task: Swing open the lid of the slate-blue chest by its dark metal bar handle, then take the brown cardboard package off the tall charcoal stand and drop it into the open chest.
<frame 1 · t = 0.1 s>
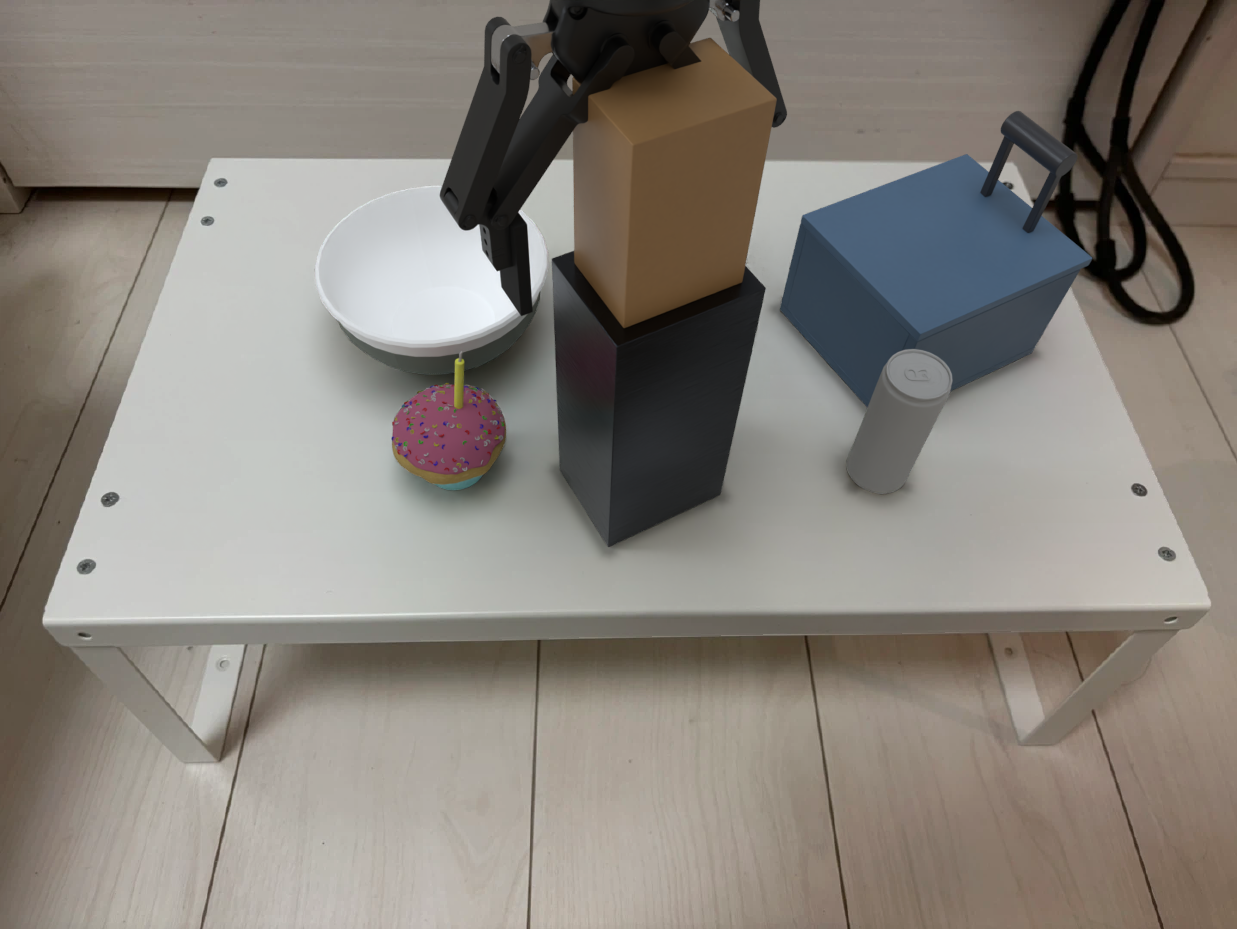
hand: (617, 263, 57), 21 cm above the table, tool pointing down, fingers open, 13 cm apart
lid: (959, 202, 71), point 14 cm above the table, hinge at 0.0°
bowl: (445, 331, 81), on the table
package: (657, 272, 54), point 22 cm above the table, touching stand
cupcake: (456, 468, 73), on the table
chest: (903, 331, 83), on the table
stand: (639, 482, 72), on the table
potato: (630, 289, 85), on the table
beverage can: (874, 473, 74), on the table
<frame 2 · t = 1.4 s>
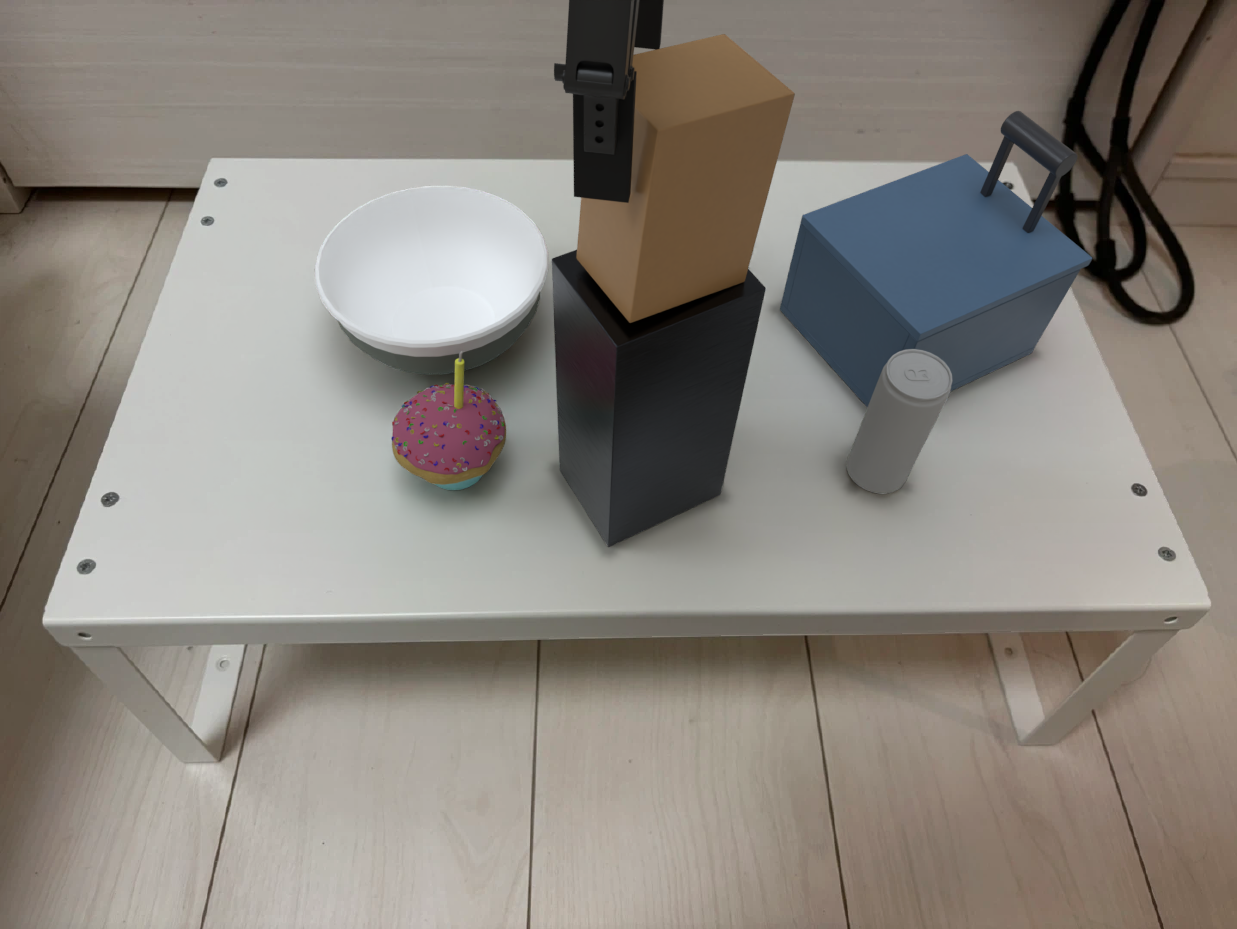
hand: (620, 114, 49), 30 cm above the table, tool pointing down, fingers open, 13 cm apart
package: (660, 270, 54), point 22 cm above the table, touching gripper
everything else where it was.
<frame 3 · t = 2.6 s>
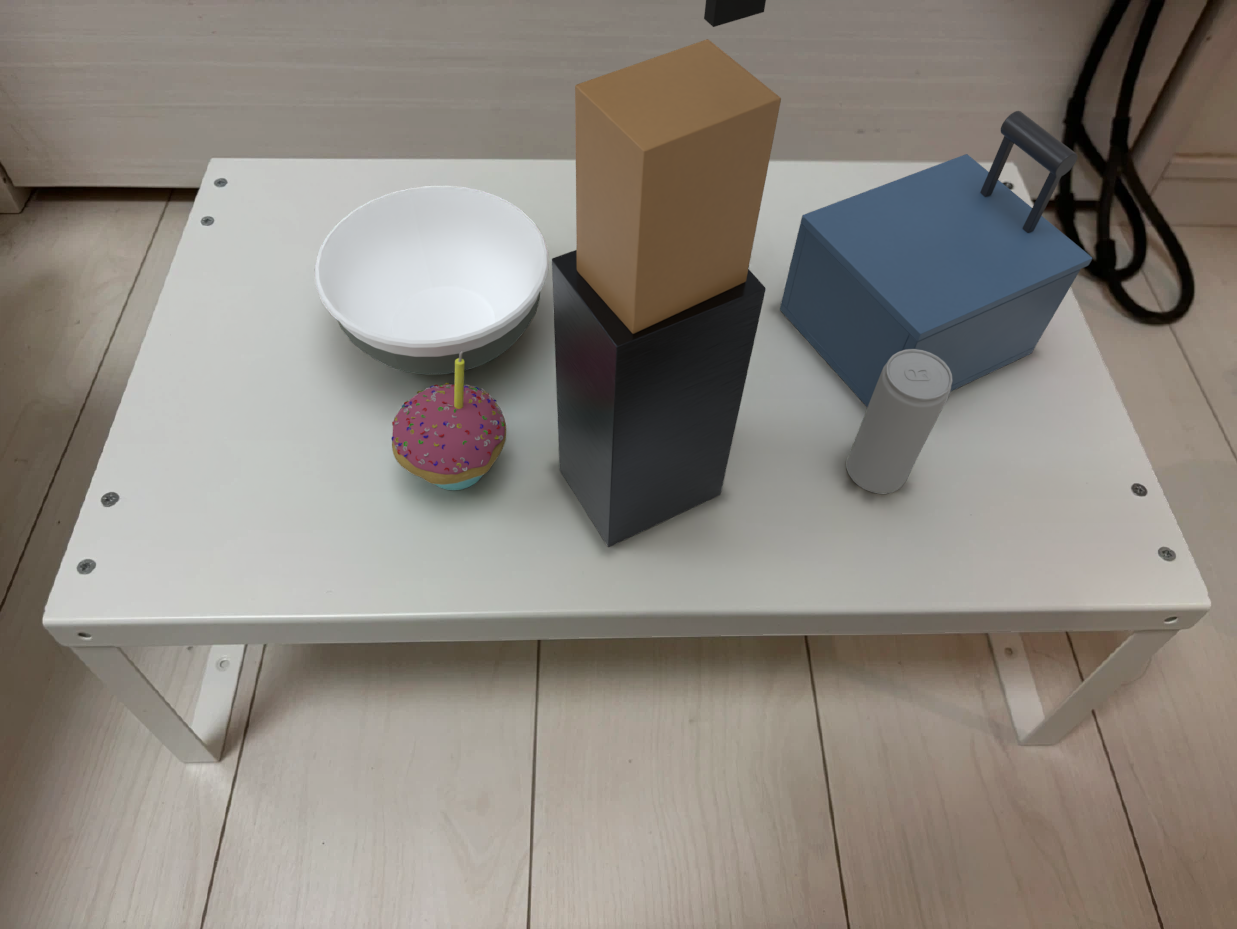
package: (661, 276, 54), point 22 cm above the table, touching stand
everything else where it was.
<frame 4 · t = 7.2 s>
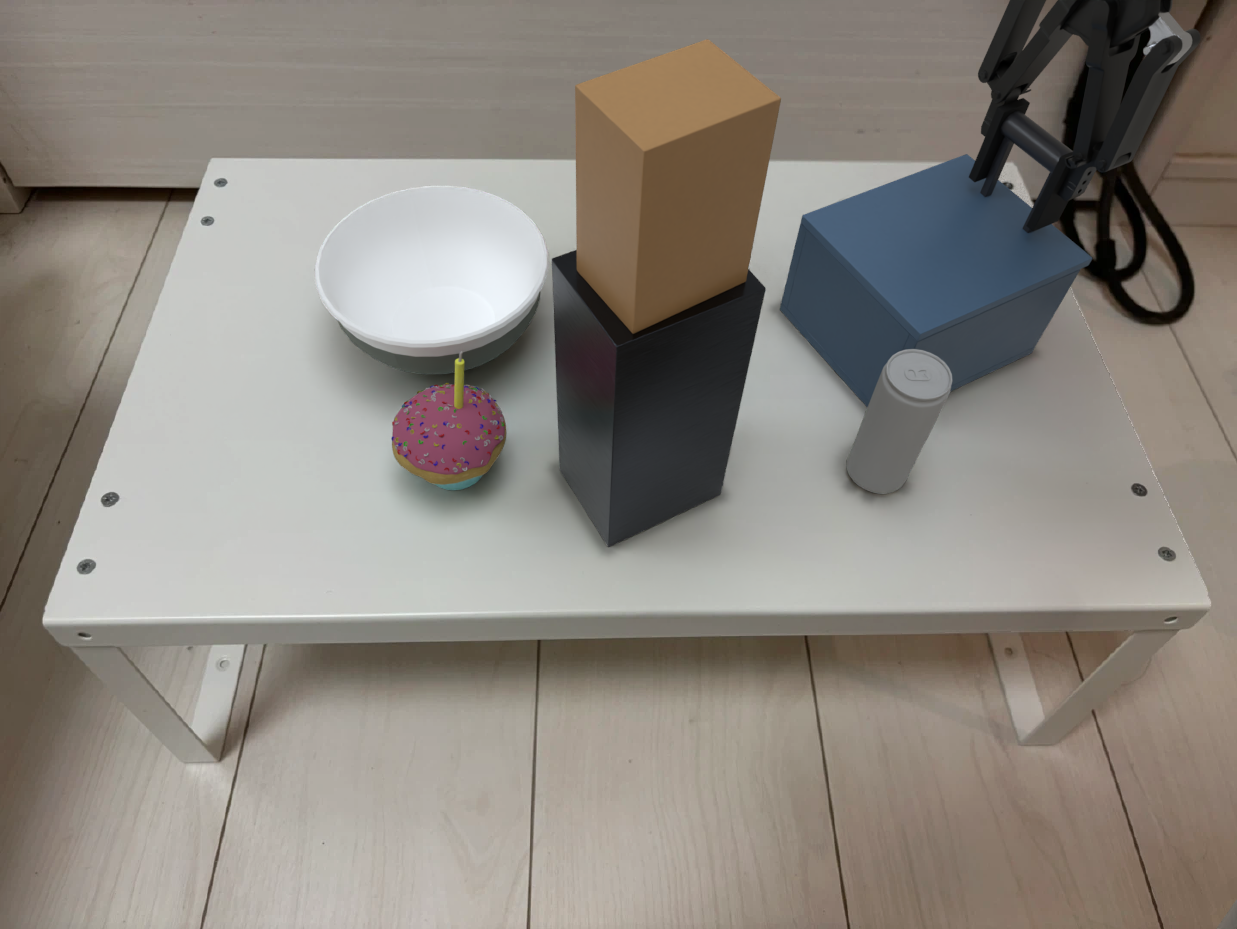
hand: (1012, 198, 75), 12 cm above the table, tool pointing down, fingers closed on lid, 6 cm apart
lid: (959, 202, 71), point 14 cm above the table, hinge at 0.0°, touching gripper
everything else where it was.
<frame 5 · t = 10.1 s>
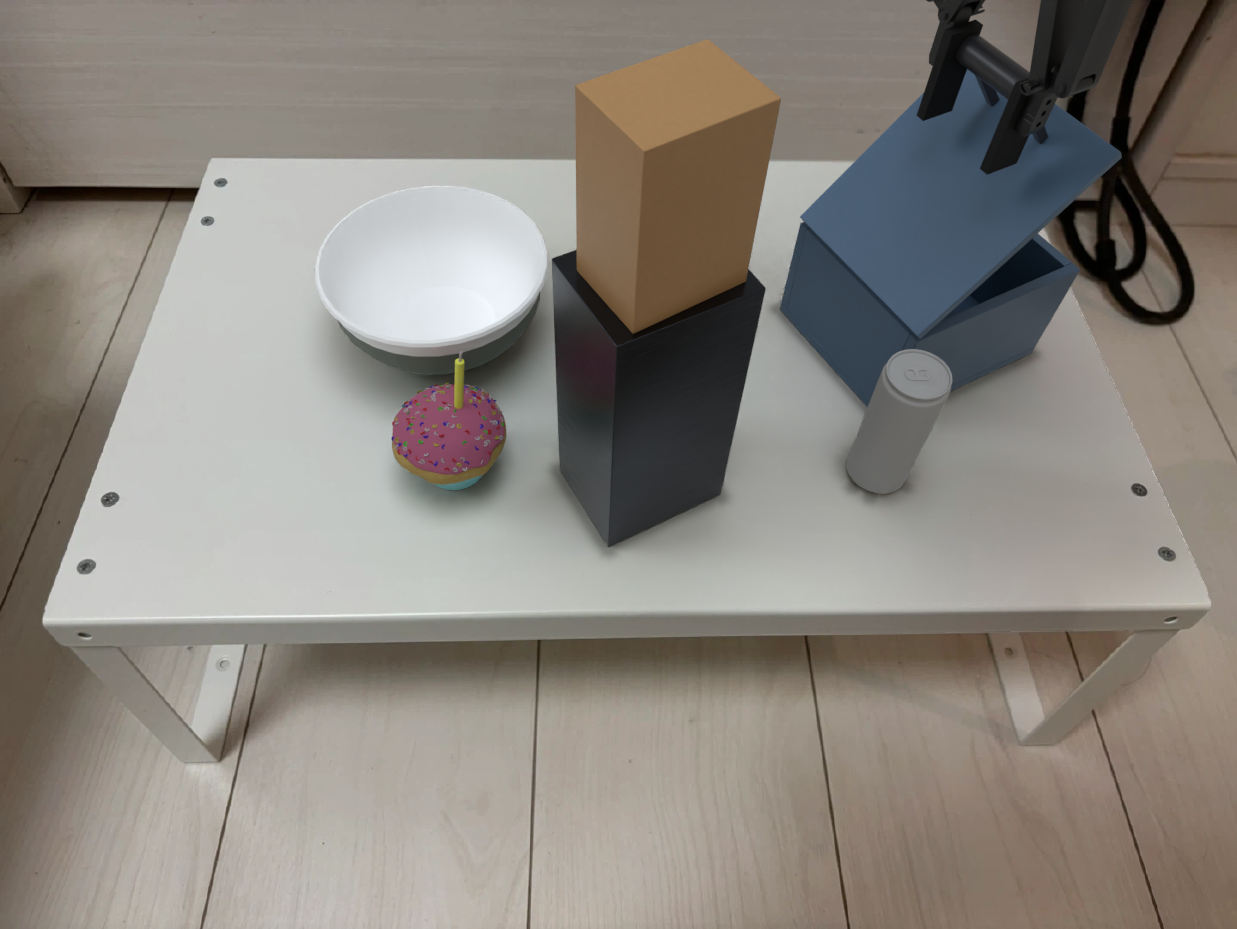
hand: (965, 138, 65), 21 cm above the table, tool pointing down, fingers closed on lid, 6 cm apart
lid: (933, 166, 66), point 19 cm above the table, hinge at 40.3°, touching gripper
everything else where it was.
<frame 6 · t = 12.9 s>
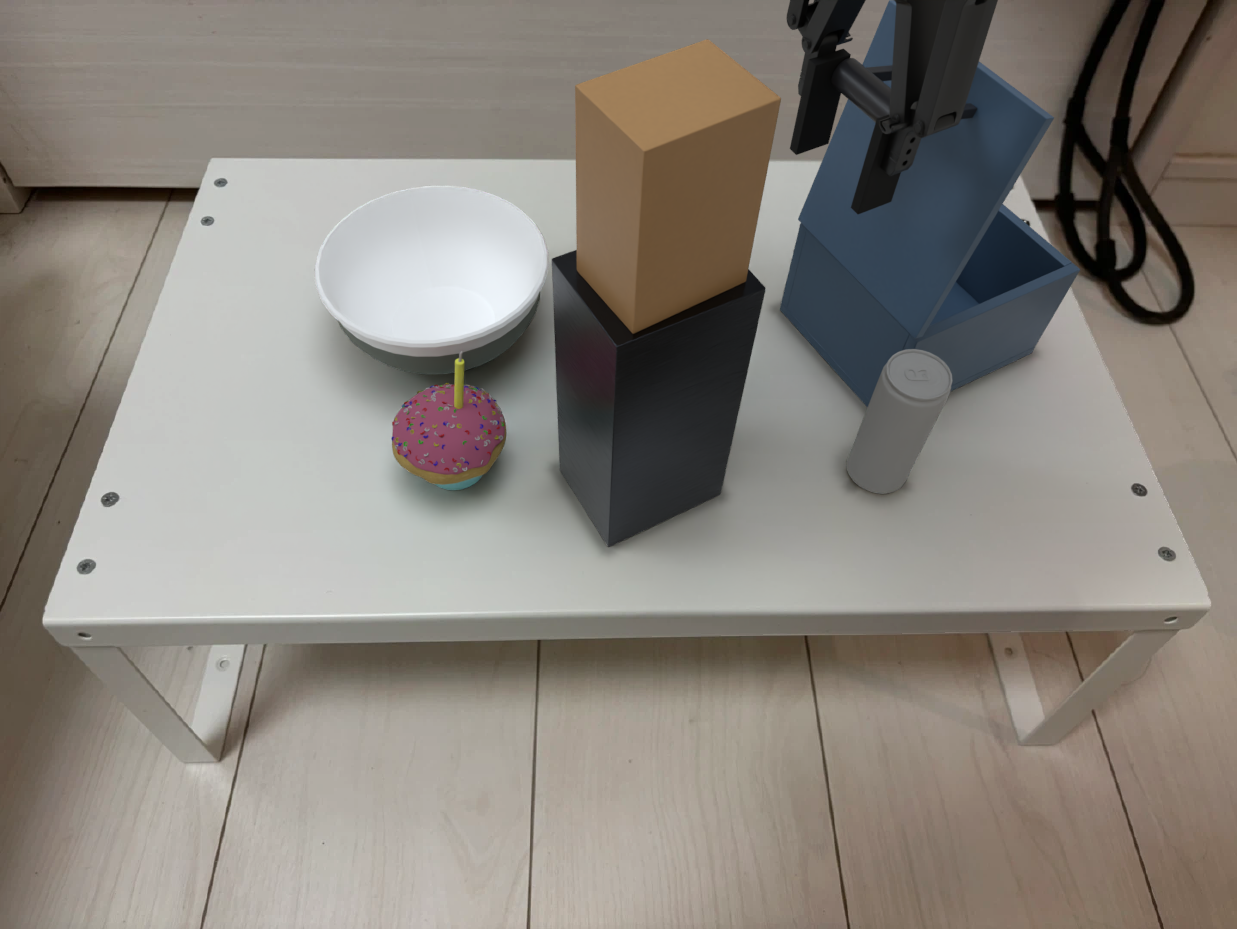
hand: (839, 174, 61), 21 cm above the table, tool pointing down, fingers open, 6 cm apart
lid: (868, 182, 63), point 20 cm above the table, hinge at 78.4°
everything else where it was.
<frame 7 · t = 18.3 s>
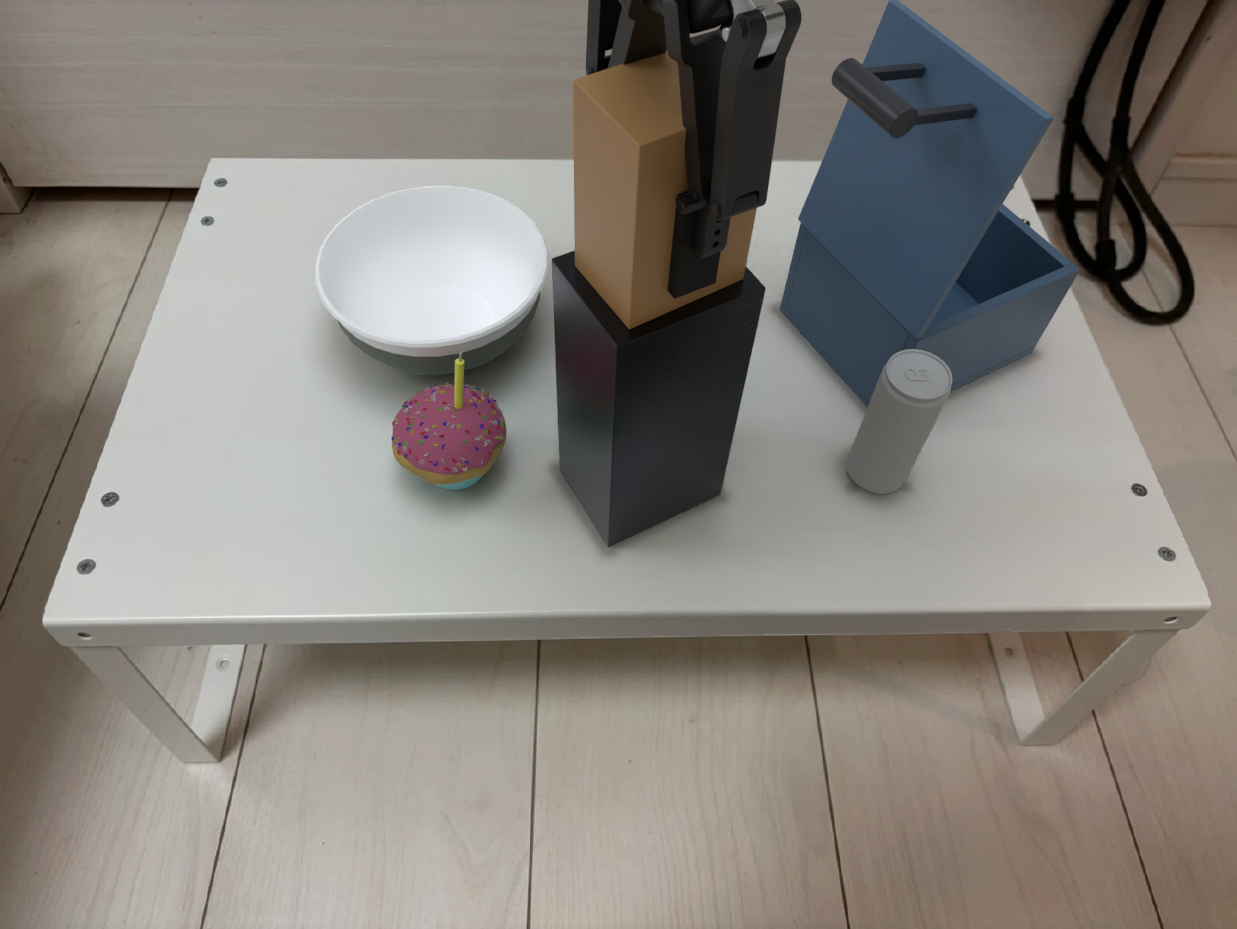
hand: (659, 248, 53), 24 cm above the table, tool pointing down, fingers closed on package, 6 cm apart
package: (658, 272, 54), point 22 cm above the table, touching gripper, stand
everything else where it was.
when the fingers open (9 cm above the table, at t = 29.7 s): package drops 7 cm, resting on chest.
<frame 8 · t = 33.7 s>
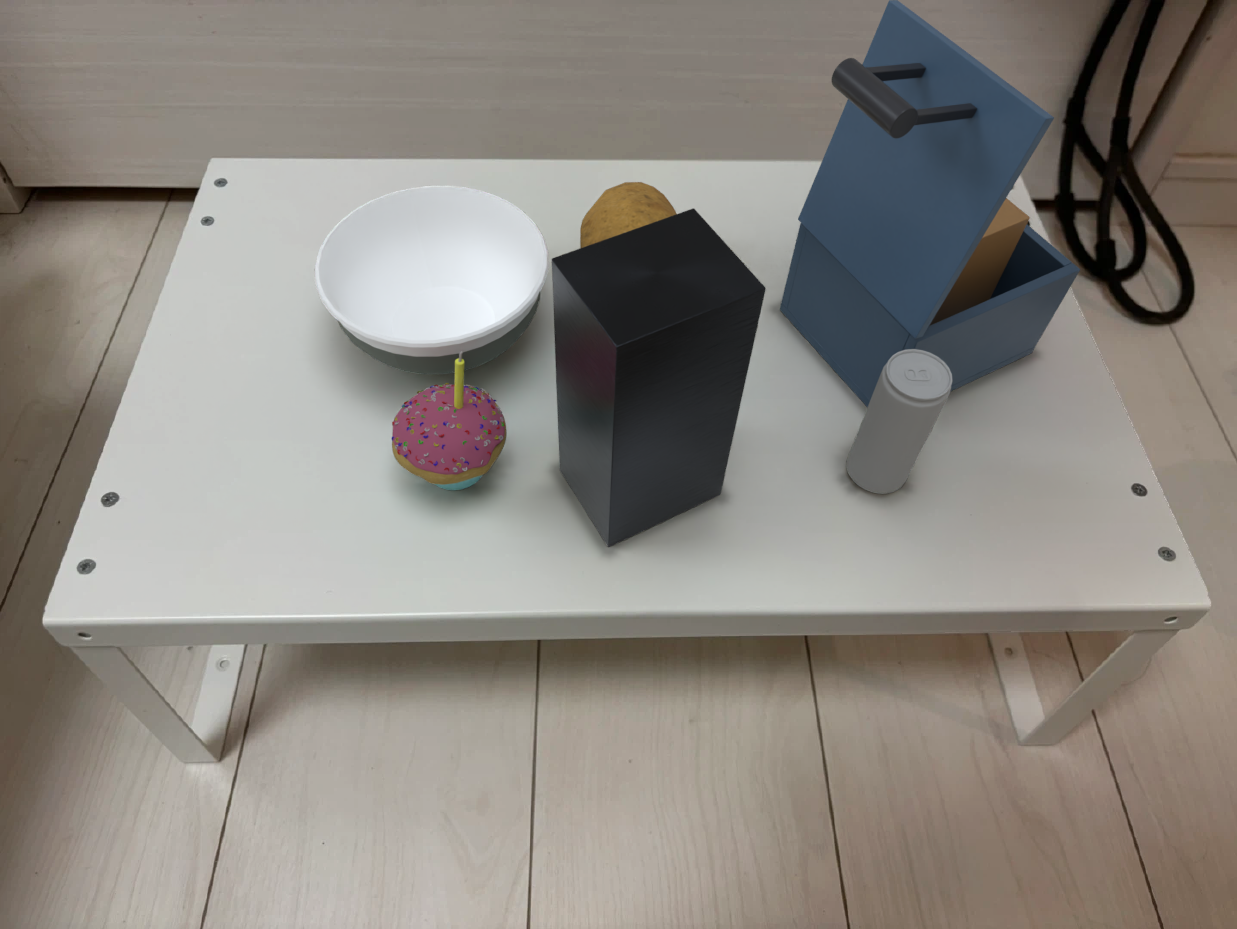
package: (920, 318, 82), point 1 cm above the table, touching chest
everything else where it was.
at the end: lid at +78° (first picture: +0°); package inside the target area in the chest (1.6 cm from its centre), point 0.9 cm above the chest's base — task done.
